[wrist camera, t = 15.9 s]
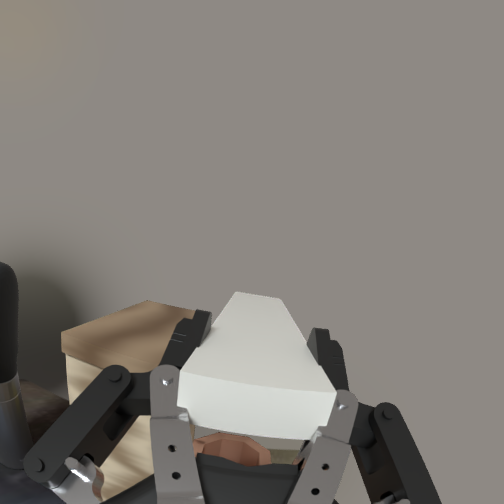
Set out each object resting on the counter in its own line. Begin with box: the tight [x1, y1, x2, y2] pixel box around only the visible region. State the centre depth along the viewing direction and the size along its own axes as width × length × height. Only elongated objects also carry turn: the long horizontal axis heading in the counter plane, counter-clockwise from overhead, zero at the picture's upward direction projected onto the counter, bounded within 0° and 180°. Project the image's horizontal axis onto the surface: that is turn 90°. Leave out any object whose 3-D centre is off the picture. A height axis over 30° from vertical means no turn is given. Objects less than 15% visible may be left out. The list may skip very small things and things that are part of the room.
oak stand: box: [61, 300, 195, 501], centre depth 23 cm, size 8×17×32 cm, turn 178°
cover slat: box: [177, 292, 337, 440], centre depth 19 cm, size 5×23×2 cm, turn 178°
